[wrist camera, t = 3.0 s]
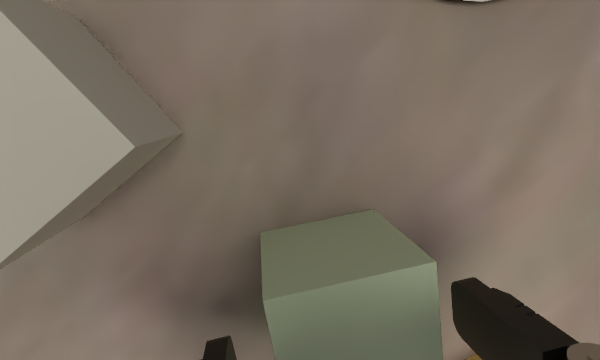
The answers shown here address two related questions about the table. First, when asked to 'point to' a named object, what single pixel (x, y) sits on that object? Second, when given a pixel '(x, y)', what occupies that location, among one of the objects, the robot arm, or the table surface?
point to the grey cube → (64, 124)
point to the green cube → (349, 291)
